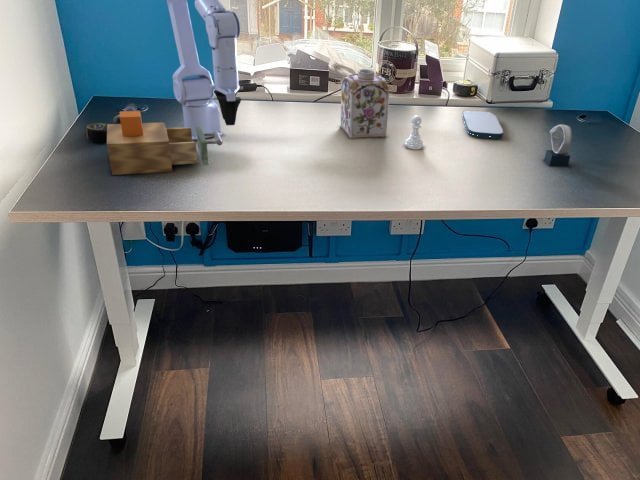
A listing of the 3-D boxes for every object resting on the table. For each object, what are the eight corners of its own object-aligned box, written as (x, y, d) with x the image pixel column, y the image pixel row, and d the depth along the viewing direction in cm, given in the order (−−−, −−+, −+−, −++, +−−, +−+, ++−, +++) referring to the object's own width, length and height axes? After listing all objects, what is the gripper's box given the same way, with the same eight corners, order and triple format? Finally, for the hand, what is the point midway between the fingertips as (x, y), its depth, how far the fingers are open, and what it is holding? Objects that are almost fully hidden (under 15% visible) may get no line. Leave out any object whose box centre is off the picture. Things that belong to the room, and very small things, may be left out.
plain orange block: (142, 129, 148) (140, 110, 146) (143, 135, 145) (140, 116, 142) (122, 130, 147) (119, 111, 144) (122, 136, 143) (119, 117, 141)
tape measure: (114, 143, 159) (111, 130, 157) (85, 144, 157) (83, 130, 155) (115, 135, 165) (113, 121, 163) (88, 136, 163) (85, 122, 161)
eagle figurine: (148, 128, 168) (144, 113, 174) (130, 109, 163) (126, 94, 168) (125, 143, 168) (122, 127, 174) (107, 124, 163) (104, 108, 169)
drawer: (218, 145, 162) (216, 124, 158) (225, 163, 151) (223, 141, 148) (152, 149, 156) (149, 127, 153) (155, 168, 146) (152, 144, 142)
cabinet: (168, 150, 158) (164, 122, 154) (172, 171, 147) (168, 141, 143) (112, 153, 154) (107, 124, 150) (112, 175, 142) (106, 144, 138)
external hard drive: (504, 140, 187) (505, 134, 186) (467, 137, 186) (468, 131, 185) (493, 118, 207) (494, 112, 206) (460, 115, 206) (461, 109, 205)
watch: (559, 158, 177) (568, 121, 171) (570, 168, 170) (579, 130, 164) (541, 157, 176) (549, 120, 170) (551, 168, 169) (560, 129, 163)
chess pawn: (406, 142, 178) (409, 112, 173) (423, 145, 178) (426, 114, 173) (403, 148, 174) (406, 117, 169) (420, 150, 173) (424, 119, 169)
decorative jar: (375, 125, 190) (379, 66, 181) (387, 137, 181) (392, 75, 171) (338, 126, 187) (341, 66, 177) (349, 138, 177) (351, 75, 168)
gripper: (204, 59, 150) (209, 113, 157) (212, 74, 138) (216, 131, 146) (233, 59, 152) (236, 113, 159) (243, 73, 141) (245, 130, 148)
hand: (228, 122), depth 153 cm, fingers open, 4 cm apart
